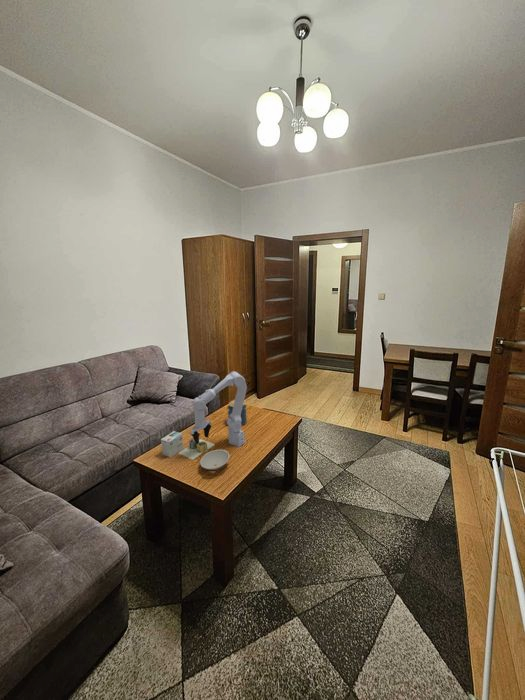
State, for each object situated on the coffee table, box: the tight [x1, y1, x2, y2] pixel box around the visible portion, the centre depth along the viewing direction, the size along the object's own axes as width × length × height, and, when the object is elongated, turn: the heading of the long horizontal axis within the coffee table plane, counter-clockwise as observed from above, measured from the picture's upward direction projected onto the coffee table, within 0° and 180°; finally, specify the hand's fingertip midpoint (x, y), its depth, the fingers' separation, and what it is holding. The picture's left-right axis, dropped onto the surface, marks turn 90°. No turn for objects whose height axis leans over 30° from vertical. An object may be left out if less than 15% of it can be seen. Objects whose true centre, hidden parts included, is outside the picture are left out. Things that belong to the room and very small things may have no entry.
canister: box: [227, 399, 248, 426], centre depth 201 cm, size 13×13×18 cm
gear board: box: [177, 438, 215, 460], centre depth 169 cm, size 13×18×5 cm
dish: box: [199, 449, 230, 471], centre depth 154 cm, size 18×14×5 cm
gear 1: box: [188, 438, 197, 449], centre depth 172 cm, size 6×6×4 cm
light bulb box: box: [160, 430, 184, 458], centre depth 167 cm, size 11×7×11 cm, turn 152°
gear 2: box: [197, 441, 208, 453], centre depth 168 cm, size 6×6×4 cm
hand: (201, 440), depth 167 cm, fingers open, 7 cm apart
